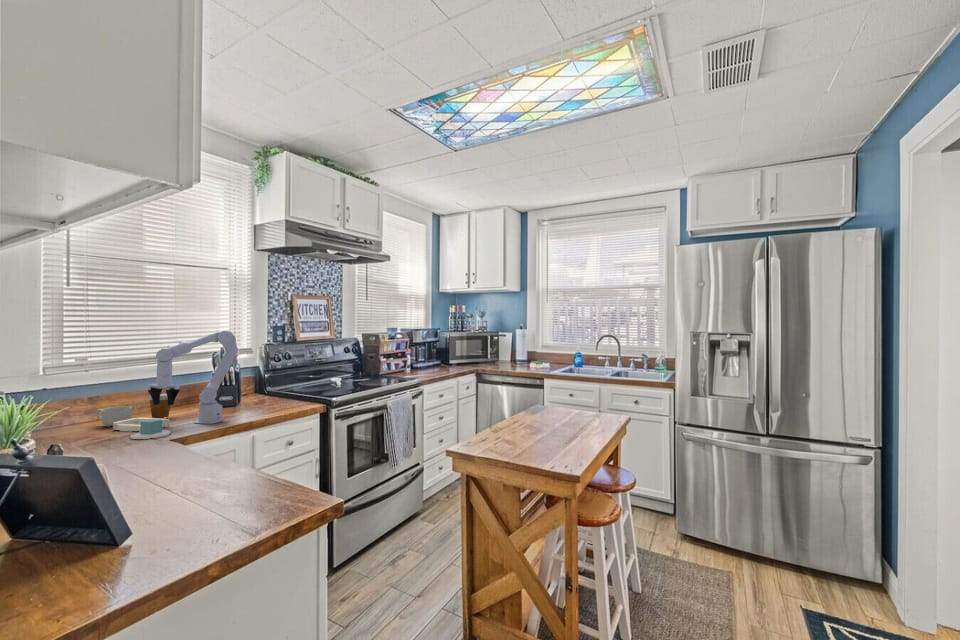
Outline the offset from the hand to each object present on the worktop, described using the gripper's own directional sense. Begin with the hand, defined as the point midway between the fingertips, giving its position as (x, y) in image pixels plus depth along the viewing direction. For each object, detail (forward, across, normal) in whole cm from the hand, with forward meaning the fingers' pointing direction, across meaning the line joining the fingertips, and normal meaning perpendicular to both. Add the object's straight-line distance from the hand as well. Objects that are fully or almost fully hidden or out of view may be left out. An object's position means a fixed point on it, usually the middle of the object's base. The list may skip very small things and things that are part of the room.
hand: (163, 404), depth 193 cm
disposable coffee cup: (+10, -14, +12) cm, 21 cm away
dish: (+9, +13, -18) cm, 24 cm away
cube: (+8, +12, -17) cm, 22 cm away
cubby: (+9, -4, -7) cm, 12 cm away
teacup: (+10, -22, -4) cm, 24 cm away
